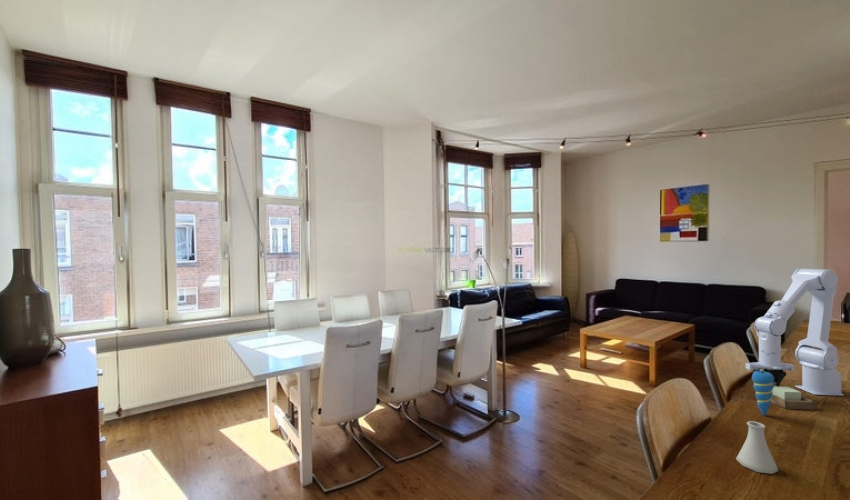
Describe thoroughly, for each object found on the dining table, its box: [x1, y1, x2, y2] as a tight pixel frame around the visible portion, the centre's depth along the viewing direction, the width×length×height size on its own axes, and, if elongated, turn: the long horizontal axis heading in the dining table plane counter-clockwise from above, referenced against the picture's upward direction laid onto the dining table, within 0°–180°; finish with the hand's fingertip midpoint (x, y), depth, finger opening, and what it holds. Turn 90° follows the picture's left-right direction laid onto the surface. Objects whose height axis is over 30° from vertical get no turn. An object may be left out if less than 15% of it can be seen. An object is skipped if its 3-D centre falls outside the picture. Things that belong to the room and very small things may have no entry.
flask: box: [735, 421, 779, 475], centre depth 90 cm, size 7×7×10 cm
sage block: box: [772, 381, 802, 401], centre depth 128 cm, size 10×5×5 cm, turn 175°
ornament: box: [751, 369, 774, 416], centre depth 116 cm, size 5×5×15 cm
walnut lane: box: [771, 394, 817, 410], centre depth 124 cm, size 8×9×2 cm
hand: (770, 390), depth 132 cm, fingers closed on sage block
